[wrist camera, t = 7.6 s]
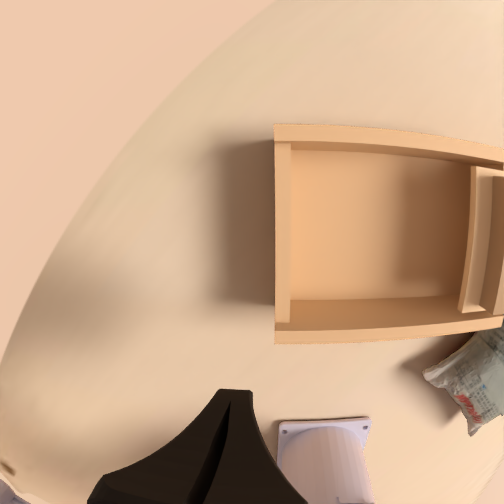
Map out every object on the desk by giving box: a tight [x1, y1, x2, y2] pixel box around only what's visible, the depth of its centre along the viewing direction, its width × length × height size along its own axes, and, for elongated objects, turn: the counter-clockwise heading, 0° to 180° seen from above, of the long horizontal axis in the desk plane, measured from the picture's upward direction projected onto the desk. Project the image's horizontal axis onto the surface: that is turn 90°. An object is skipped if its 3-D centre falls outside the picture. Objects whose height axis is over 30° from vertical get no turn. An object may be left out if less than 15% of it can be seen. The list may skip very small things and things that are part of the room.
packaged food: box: [422, 314, 504, 436], centre depth 19 cm, size 9×12×5 cm
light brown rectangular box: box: [274, 124, 504, 344], centre depth 17 cm, size 11×15×5 cm
